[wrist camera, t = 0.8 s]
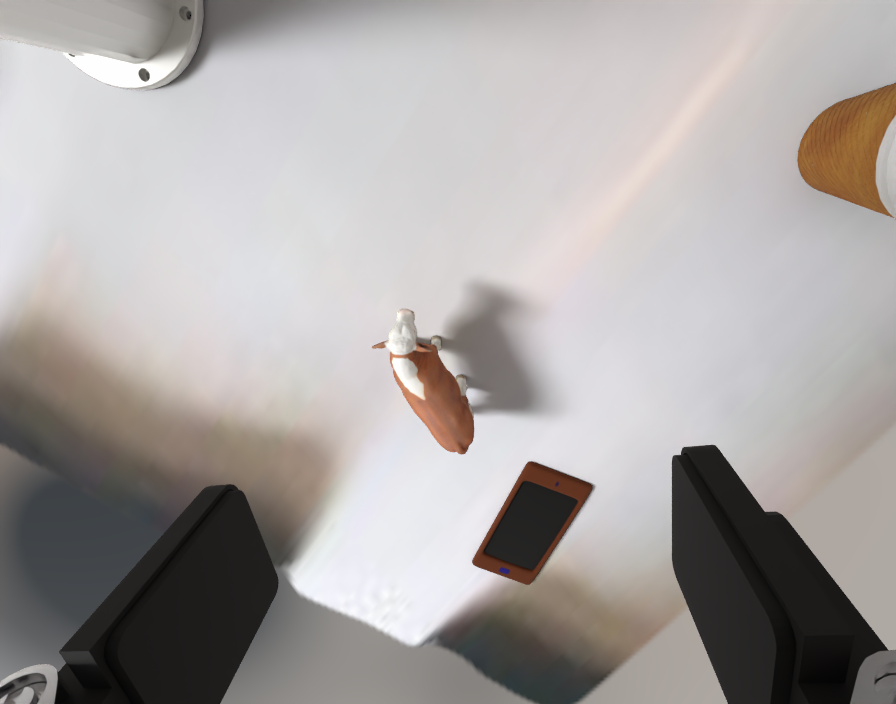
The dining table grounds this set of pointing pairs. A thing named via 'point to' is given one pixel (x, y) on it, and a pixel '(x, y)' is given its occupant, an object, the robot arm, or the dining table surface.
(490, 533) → the smartphone
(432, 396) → the bull figurine
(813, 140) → the disposable coffee cup
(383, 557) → the dining table surface
